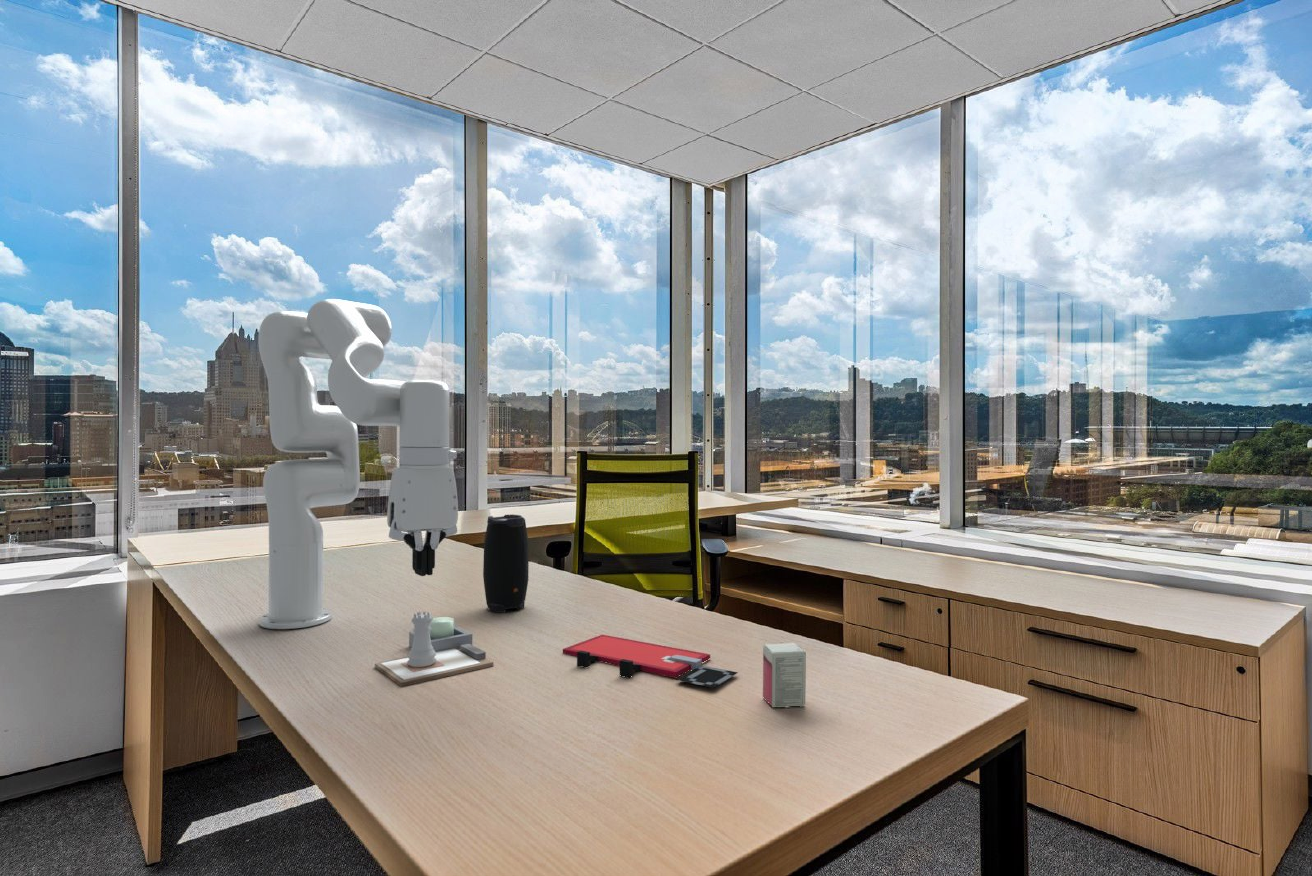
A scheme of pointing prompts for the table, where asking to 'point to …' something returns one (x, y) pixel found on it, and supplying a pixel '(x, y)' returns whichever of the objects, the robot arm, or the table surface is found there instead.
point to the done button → (441, 627)
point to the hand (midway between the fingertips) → (423, 574)
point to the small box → (784, 674)
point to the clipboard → (436, 665)
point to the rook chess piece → (421, 642)
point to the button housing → (448, 640)
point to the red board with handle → (648, 659)
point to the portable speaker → (505, 562)
